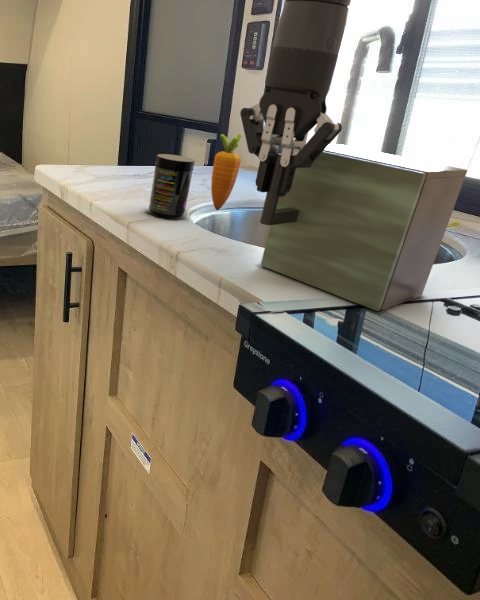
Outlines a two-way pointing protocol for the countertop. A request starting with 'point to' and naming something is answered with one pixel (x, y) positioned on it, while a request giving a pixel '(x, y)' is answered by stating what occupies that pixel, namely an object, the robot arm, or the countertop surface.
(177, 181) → the supplement container
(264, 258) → the cupboard door
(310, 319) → the countertop surface
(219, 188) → the carrot
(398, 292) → the cupboard
